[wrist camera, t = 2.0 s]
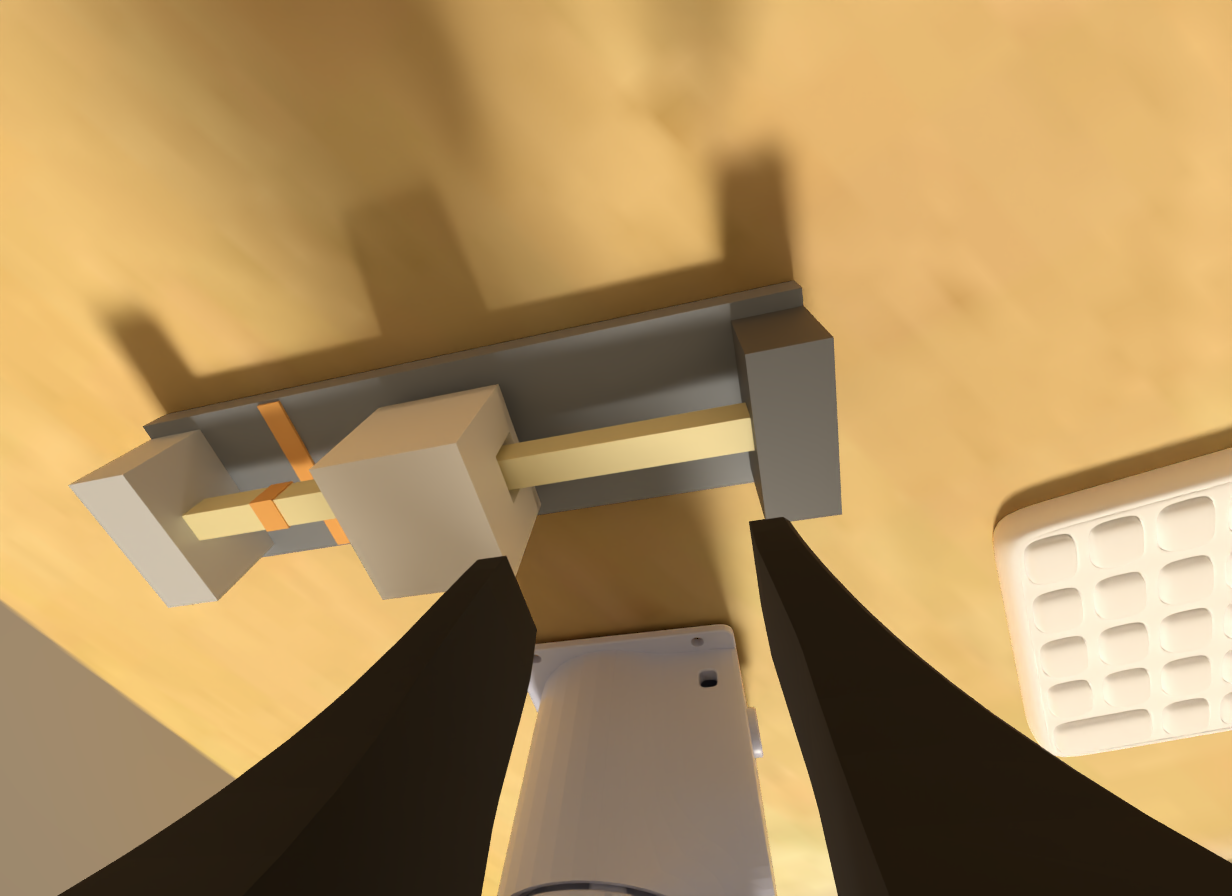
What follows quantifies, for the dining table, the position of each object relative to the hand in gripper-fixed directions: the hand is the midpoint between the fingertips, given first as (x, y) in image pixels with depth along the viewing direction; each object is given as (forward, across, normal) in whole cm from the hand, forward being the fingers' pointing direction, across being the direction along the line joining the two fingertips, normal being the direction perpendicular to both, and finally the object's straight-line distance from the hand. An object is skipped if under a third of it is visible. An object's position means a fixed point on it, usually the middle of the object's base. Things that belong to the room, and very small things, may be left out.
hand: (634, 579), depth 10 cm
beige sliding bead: (+7, +6, 0) cm, 9 cm away
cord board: (+8, +6, 0) cm, 10 cm away
